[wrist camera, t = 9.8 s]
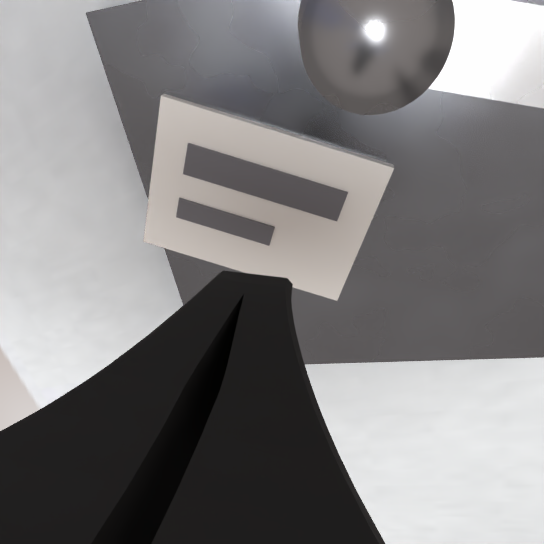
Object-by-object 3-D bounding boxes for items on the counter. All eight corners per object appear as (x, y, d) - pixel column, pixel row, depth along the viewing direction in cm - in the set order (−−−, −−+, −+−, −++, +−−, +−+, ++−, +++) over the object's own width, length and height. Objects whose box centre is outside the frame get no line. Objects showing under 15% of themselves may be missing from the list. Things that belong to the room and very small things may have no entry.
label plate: (146, 237, 16) (142, 242, 16) (164, 93, 13) (159, 96, 13) (337, 295, 16) (337, 302, 16) (393, 164, 14) (394, 169, 13)
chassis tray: (209, 354, 20) (202, 372, 19) (95, -1, 13) (76, 0, 12) (637, 338, 16) (654, 360, 15) (778, -155, 10) (821, -170, 9)
